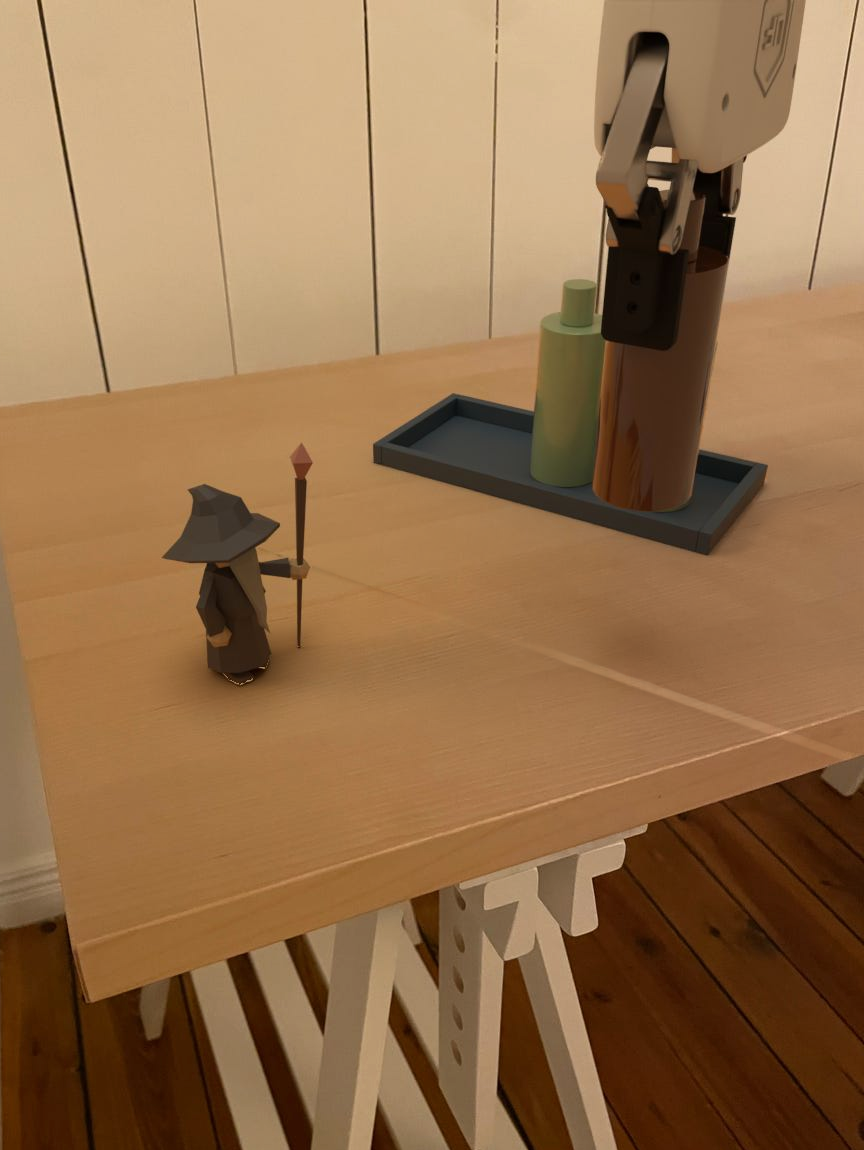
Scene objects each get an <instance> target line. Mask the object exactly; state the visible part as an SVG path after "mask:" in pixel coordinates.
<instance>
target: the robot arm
mask: <svg viewBox="0 0 864 1150" xmlns="http://www.w3.org/2000/svg"><path fill="white" fill-rule="evenodd" d="M806 1H807V0H603V7H602V17H601V25H600V35H599V44H598V55H597V64H596V65H597V67H596V79H595V80H596V81H595V92H594V94H595V95H594V114H593V115H594V117H593V135H594V136H593V138H594V139H593V140H594V146H595V149H596V151H597V153H598V155H599V156H600V159H599V163H598V165H597V169H596V173H595V185H596V188H597V190H598V192H599V194H600V195H601V198H602V200H603V202H604V203H605V206H604V208H605V209H606V215H607V217H608V219H607V225H606V230H605V231H606V232H605V244H606V246H607V247H608V249H607V259H606V268H605V269H606V270H605V282H604V292H603V303H602V313H601V315H602V323H601V335H602V337H603V338H604V339H605V340H606V341H610V342H615V343H621V344H627V345H632V346H638V347H644V348H649V349H655V350H660V351H666V350H668V349H670V348H671V347H672V346H673V345H675V343H676V341H677V336H678V329H679V322H680V314H681V307H682V300H683V293H684V285H685V278H686V271H687V264H688V256H689V250H686V249H679V247H680V245H681V241H682V237H683V232H684V227H685V223H686V218H687V214H688V209H689V204H690V200H691V195H692V190H694V191H698V192H701V193H703V194H705V195H706V202H705V209H704V216H703V223H702V230H701V237H700V244H699V245H700V246H705V247H709V248H712V249H715V250H718V251H720V252H722V253H724V254H725V255H726V256H727V257H728V258H729V260H730V259H731V258H730V257H731V252H732V246H733V239H734V234H735V227H736V221H737V217H736V216H734V215H735V214H736V212H737V210H738V208H739V205H740V204H739V203H740V201H741V195H742V184H743V172H744V163H745V162H746V161H747V157H748V156H749V155H750V154H752V153H753V152H755V151H756V150H758V149H760V148H762V147H764V146H765V145H767V144H768V143H769V142H770V141H772V140H773V139H775V138H776V137H777V136H778V135H779V134H780V133H782V131H783V129H784V128H785V127H786V125H787V123H788V120H789V117H790V113H791V106H792V100H793V93H794V87H795V81H796V73H797V66H798V60H799V52H800V43H801V38H802V31H803V25H804V16H805V10H806V9H805V8H806ZM654 148H668V149H671V162H669V161H657V160H648V158H649V154H650V151H651V150H653V149H654ZM648 181H659V182H670V184H669V188H668V190H669V194H668V198H667V203H666V208H665V209H664V205H663V202H662V198H661V195H660V192H659V191H660V189H659V188H658V187H657V186H650V185H649V184H648ZM727 215H730V216H727Z"/></svg>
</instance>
